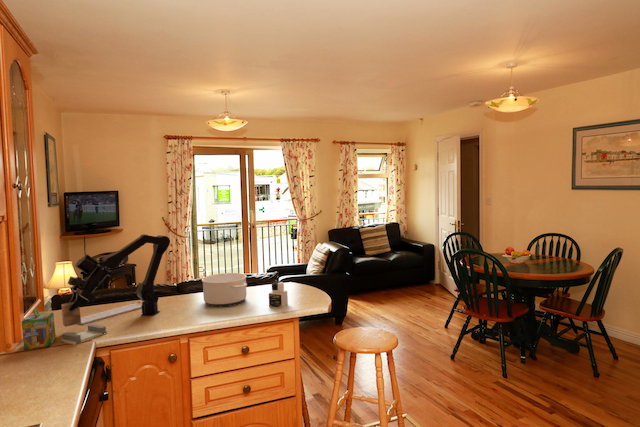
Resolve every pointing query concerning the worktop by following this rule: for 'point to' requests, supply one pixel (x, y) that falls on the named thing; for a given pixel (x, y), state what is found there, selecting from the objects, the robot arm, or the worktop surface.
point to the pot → (224, 289)
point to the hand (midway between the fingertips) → (68, 309)
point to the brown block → (70, 315)
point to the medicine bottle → (278, 295)
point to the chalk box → (38, 330)
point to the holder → (84, 334)
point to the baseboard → (110, 313)
